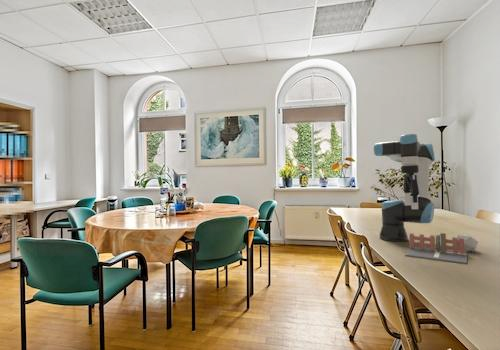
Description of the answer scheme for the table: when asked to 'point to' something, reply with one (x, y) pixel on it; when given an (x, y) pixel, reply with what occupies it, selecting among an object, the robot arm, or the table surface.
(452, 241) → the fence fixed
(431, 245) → the fence gate
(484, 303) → the table surface
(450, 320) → the table surface
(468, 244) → the grey rounded lump
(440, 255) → the card
